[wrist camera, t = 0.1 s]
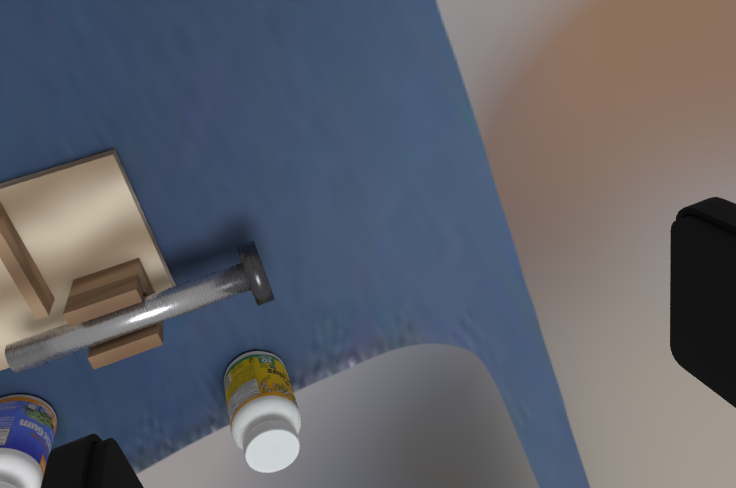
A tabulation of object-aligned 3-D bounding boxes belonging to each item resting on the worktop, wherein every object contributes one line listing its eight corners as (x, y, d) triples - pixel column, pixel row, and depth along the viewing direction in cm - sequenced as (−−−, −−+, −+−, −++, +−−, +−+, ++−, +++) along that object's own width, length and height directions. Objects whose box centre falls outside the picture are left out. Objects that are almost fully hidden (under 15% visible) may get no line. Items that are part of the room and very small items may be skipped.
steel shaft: (4, 315, 40) (-13, 350, 37) (250, 231, 43) (258, 256, 39) (35, 365, 42) (22, 404, 39) (268, 282, 45) (278, 310, 42)
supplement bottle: (210, 373, 51) (219, 452, 42) (263, 337, 51) (282, 408, 43) (247, 411, 53) (262, 492, 45) (297, 376, 54) (322, 451, 45)
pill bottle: (70, 430, 49) (50, 526, 41) (2, 458, 48) (-32, 561, 40) (36, 380, 47) (7, 471, 38) (-36, 408, 46) (-81, 508, 37)
